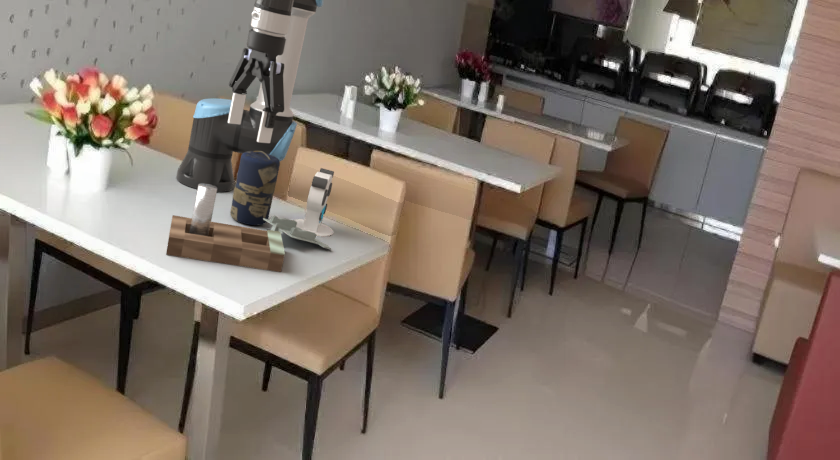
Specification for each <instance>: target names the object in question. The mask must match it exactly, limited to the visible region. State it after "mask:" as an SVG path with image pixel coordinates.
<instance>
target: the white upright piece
mask: <svg viewBox="0 0 840 460" xmlns="http://www.w3.org/2000/svg"><path fill="white" fill-rule="evenodd" d="M334 174H335V171H334V170H330V169H326V168H322V167H320V169H319V171H317V172H316V173H315V175H313V178H312V181H311V185H310V188H309V191H308V195H307V196H308V197H307V200H306V211H305V215H304V219H303V218H300V219H299V218H298V219H295V218H294V219H293V220H294V221H296V222H297V225H296V227H298V228H300V229H302V230H306V231H310V232H313V233H315V234H316V235H317V236H321V237H320V238H327V237H326V236H328V237H331V236H332V235H334V230H333V229H332V228H331V227H330V226H329V225H326V224H324V223H322V222H323V219H324V215H325V214H326V211H327V208H328V203H327V202H328V199H329V196H331V191H332V188H333V177H334ZM330 235H331V236H330Z"/></svg>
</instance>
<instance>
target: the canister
mask: <svg viewBox="0 0 840 460" xmlns="http://www.w3.org/2000/svg"><path fill="white" fill-rule="evenodd" d="M280 165H281V161H279V159H278V158H276V157H275V156H272V155H269V154H266V153H264V152H263V151H247V152H244V153H243V154H242V153H241V156H240V160H239V165H238V171H237V173H236V180H235V185H234V189H233V192H232V193H233V194H232V200H231V208H230V211H229V213H230V217H231V218H232V219H233V220H234V221H236V222H239V223H242V224H246V225H250V226H251V225H252V226H262V225H265V224H267V223H268V222H267V221H265V220H263V218H264V219H268V220H269V218H270V213H271V209H272V208H271V207H272V204H273V198H274V194H275V191H276V187H277V186H276V185H277V179H278V177H279V176H278V175H279V171H280Z"/></svg>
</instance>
